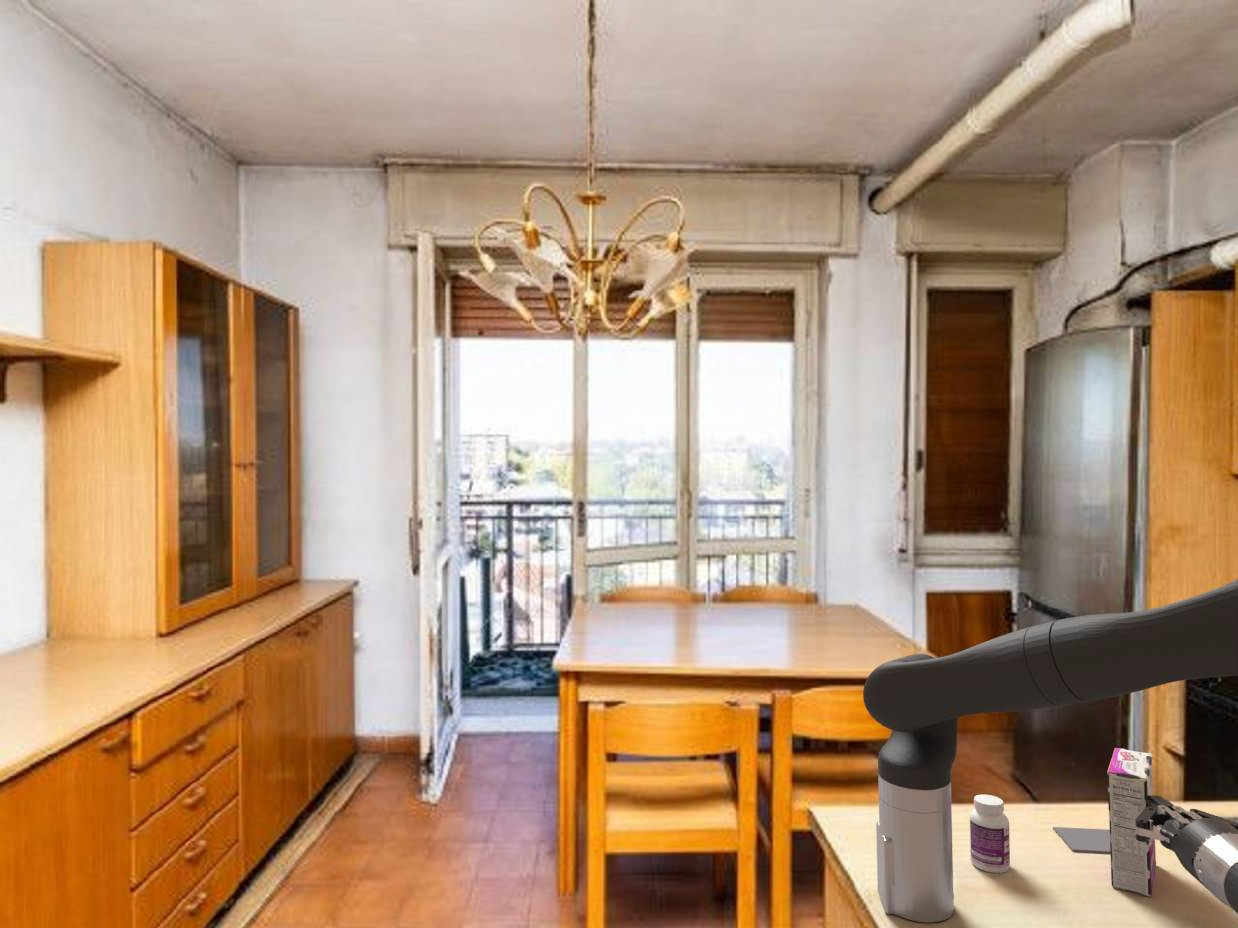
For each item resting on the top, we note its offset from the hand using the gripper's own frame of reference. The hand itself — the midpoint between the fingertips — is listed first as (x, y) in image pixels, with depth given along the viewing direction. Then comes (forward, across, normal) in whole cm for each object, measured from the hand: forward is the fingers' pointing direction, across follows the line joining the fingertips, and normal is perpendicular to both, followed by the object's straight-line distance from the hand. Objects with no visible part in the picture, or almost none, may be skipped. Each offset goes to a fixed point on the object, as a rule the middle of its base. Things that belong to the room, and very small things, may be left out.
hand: (1153, 802), depth 106 cm
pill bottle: (+7, +19, +13) cm, 24 cm away
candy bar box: (+6, 0, +13) cm, 14 cm away
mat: (+16, 0, +13) cm, 21 cm away
